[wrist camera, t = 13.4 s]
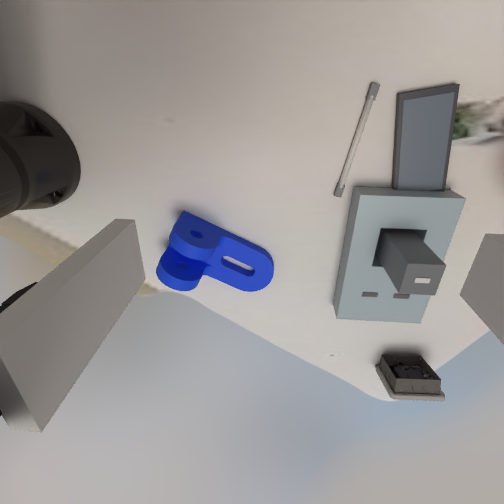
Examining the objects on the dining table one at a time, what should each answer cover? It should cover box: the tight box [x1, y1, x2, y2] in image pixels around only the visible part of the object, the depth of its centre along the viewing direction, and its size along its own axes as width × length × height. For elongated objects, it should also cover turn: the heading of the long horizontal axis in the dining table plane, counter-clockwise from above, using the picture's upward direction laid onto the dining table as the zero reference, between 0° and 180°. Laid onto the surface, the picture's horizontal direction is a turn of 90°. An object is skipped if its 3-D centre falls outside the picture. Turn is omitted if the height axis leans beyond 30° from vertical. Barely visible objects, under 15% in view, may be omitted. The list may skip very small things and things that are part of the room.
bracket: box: [156, 211, 274, 292], centre depth 48 cm, size 18×8×9 cm, turn 63°
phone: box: [392, 84, 460, 192], centre depth 41 cm, size 7×14×1 cm, turn 9°
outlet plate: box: [333, 187, 466, 323], centre depth 48 cm, size 14×22×4 cm, turn 179°
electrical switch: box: [376, 355, 445, 401], centre depth 57 cm, size 9×5×9 cm, turn 92°
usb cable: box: [334, 83, 380, 197], centre depth 42 cm, size 15×1×1 cm, turn 169°
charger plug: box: [375, 228, 446, 295], centre depth 43 cm, size 4×4×12 cm
